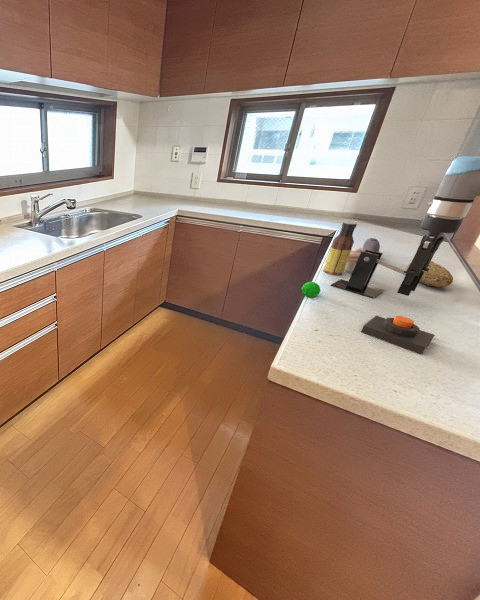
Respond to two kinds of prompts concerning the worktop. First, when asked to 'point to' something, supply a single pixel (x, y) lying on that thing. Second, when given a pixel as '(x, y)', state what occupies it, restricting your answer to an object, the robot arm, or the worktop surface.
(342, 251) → the sauce bottle
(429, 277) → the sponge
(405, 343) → the button block
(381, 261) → the lever
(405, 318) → the button
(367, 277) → the bracket
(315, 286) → the green bumpy ball
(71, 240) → the worktop surface
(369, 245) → the perforated stone tool
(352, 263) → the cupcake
